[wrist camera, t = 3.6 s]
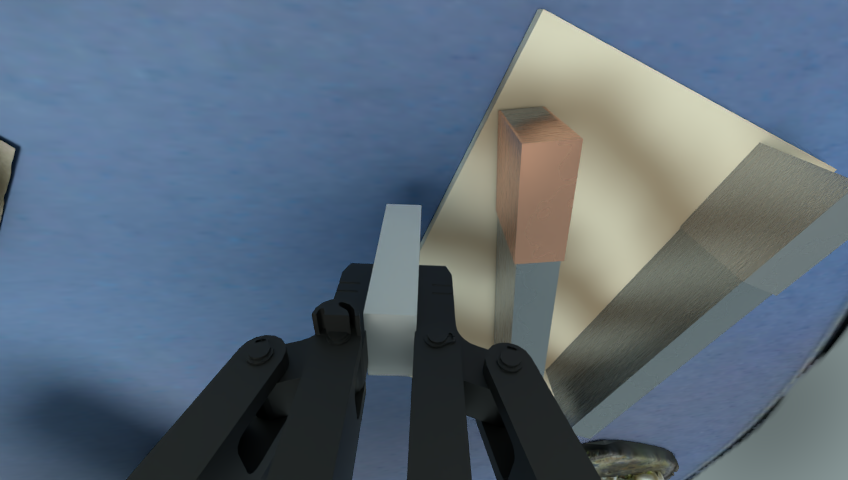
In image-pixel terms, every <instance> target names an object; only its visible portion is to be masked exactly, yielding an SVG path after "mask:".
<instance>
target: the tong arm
mask: <svg viewBox="0 0 848 480" xmlns="http://www.w3.org/2000/svg"><path fill="white" fill-rule="evenodd" d="M582 144H583V138H582V137H580V136H579V135H578V134H577V133H576V132H574V131H573V130H572V129H571V128H570V127H568V126H567V125H566V124H565V123H564V122H562V121H561V120H560V119H559V118H558V117H556V116H555V115H554V114H553V113H552V112H550V111H549V110H548V109H547V108H546V107H533V108H521V109H510V110H499V111H498V143H497V183H496V213H497V216H498V220H497V256H496V292H495V327H494V345H495V344H497V343H512V344H515V345H518V346H519V347H521V348H523V349H524V350H526V351H527V353H528V354H529V355H530V356H531V358H532V359H533V361H534V363H535V365H536V366H537V368H538V370H539V371H540V373H541V375H542V377H544V371H545V364H546V357H547V351H548V344H549V337H550V330H551V324H552V317H553V310H554V303H555V297H556V290H557V283H558V277H559V270H560V263H561V261H564V260H565V253H566V247H567V240H568V234H569V227H570V221H571V215H572V208H573V202H574V195H575V189H576V182H577V176H578V169H579V163H580V157H581V150H582Z"/></svg>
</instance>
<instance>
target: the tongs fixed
mask: <svg viewBox="0 0 848 480" xmlns="http://www.w3.org/2000/svg"><path fill="white" fill-rule="evenodd" d="M847 240H848V178H847V177H844V176H842V175H839V174H837V173H834V172H832V171H829V170H827V169H824V168H822V167H819V166H817V165H814V164H812V163H810V162H807V161H805V160H802V159H800V158H797V157H795V156H792V155H790V154H787V153H785V152H782V151H780V150H777V149H775V148H772V147H770V146H767V145H765V144H762V143H760V142H759V144H758V145H757V146H756V147H755V148H754V149H753V150H752V151H751V152H750V153H749V154H748V155H747V156H746V157H745V158H744V159H743V160H742V162H741V163H740V164H739V165H738V166H737V167H736V168H735V169H734V170H733V171H732V172H731V173H730V174H729V175H728V176H727V177H726V178H725V179H724V181H723V182H722V183H721V184H720V185H719V186H718V187H717V188H716V189H715V190H714V191H713V192H712V193H711V194H710V195H709V196H708V197H707V198H706V200H705V201H704V202H703V203H702V204H701V205H700V206H699V207H698V208H697V209H696V210H695V211H694V212H693V213H692V214H691V215H690V216H689V218H688V219H687V220H686V221H685V222H684V223H683V224H682V225H681V226H680V229H679V230H678V231H677V232H676V233H675V234H674V235H673V237H672V238H671V239H670V240H669V241H668V242H667V243H666V244H665V245H664V246H663V247H662V248H661V249H660V250H659V251H658V252H657V253H656V254H655V255H654V257H653V258H652V259H651V260H650V261H649V262H648V263H647V264H646V265H645V266H644V267H643V268H642V269H641V270H640V271H639V272H638V273H637V274H636V275H635V277H634V278H633V279H632V280H631V281H630V282H629V283H628V284H627V285H626V286H625V287H624V288H623V289H622V290H621V291H620V292H619V293H618V294H617V295H616V297H615V298H614V299H613V300H612V301H611V302H610V303H609V304H608V305H607V306H606V307H605V308H604V309H603V310H602V311H601V312H600V313H599V314H598V315H597V317H596V318H595V319H594V320H593V321H592V322H591V323H590V324H589V325H588V326H587V327H586V328H585V329H584V330H583V331H582V332H581V333H580V334H579V335H578V337H577V338H576V339H575V340H574V341H573V342H572V343H571V344H570V345H569V346H568V347H567V348H566V349H565V350H564V351H563V352H562V353H561V354H560V356H559V357H558V358H557V359H556V360H555V361H554V362H553V363H552V364H551V365H550V366H549V367H548V368H547V369H546V370H545V371H546V374H547V377H548V380H549V383H550V386H551V389H552V392H553V395H554V398H555V399H556V401H557V403H558V405H559V406H560V408H561V410H562V412H563V413H564V415H565V417H566V419H567V420H568V422H569V424H570V426H571V427H572V429H573V431H574V433H575V434H576V435H577V436H581V437H585V438H589V439H591V438H592V437H593V436H594V435H596V434H597V433H598V432H599V431H601V430H602V429H603V428H604V427H606V426H607V425H608V424H609V423H611V422H612V421H613V420H614V419H616V418H617V417H618V416H619V415H621V414H622V413H623V412H625V411H626V410H627V409H628V408H630V407H631V406H632V405H633V404H635V403H636V402H637V401H638V400H640V399H641V398H642V397H643V396H645V395H646V394H647V393H648V392H650V391H651V390H652V389H653V388H655V387H656V386H657V385H659V384H660V383H661V382H662V381H664V380H665V379H666V378H667V377H669V376H670V375H671V374H672V373H674V372H675V371H676V370H677V369H679V368H680V367H681V366H682V365H684V364H685V363H686V362H687V361H689V360H690V359H691V358H692V357H694V356H695V355H696V354H698V353H699V352H700V351H701V350H703V349H704V348H705V347H706V346H708V345H709V344H710V343H711V342H713V341H714V340H715V339H716V338H718V337H719V336H720V335H721V334H723V333H724V332H725V331H726V330H728V329H729V328H730V327H732V326H733V325H734V324H735V323H737V322H738V321H739V320H740V319H742V318H743V317H744V316H745V315H747V314H748V313H749V312H750V311H752V310H753V309H754V308H755V307H757V306H758V305H759V304H760V303H762V302H763V301H764V300H766V299H767V298H768V297H769V296H771V295H772V294H774V295H776V296H777V295H778V294H779V293H781V292H782V291H783V290H784V289H786V288H787V287H788V286H789V285H791V284H792V283H793V282H795V281H796V280H797V279H798V278H800V277H801V276H802V275H803V274H805V273H806V272H807V271H809V270H810V269H811V268H812V267H814V266H815V265H816V264H817V263H819V262H820V261H821V260H823V259H824V258H825V257H826V256H828V255H829V254H830V253H831V252H833V251H834V250H835V249H837V248H838V247H839V246H840V245H842V244H843V243H844V242H845V241H847Z"/></svg>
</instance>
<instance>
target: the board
mask: <svg viewBox="0 0 848 480" xmlns="http://www.w3.org/2000/svg"><path fill="white" fill-rule="evenodd" d="M533 107H546V108H547V109H548V110H549V111H550V112H552V113H553V114H554V115H555V116H556V117H558V118H559V119H560V120H561V121H562V122H564V123H565V124H566V125H567V126H568V127H570V128H571V129H572V130H573V131H574V132H576V133H577V134H578V135H579V136H580V137H582V138H583V144H582V150H581V157H580V163H579V169H578V176H577V182H576V189H575V195H574V202H573V208H572V215H571V221H570V227H569V234H568V240H567V247H566V253H565V260H564V261H561V263H560V270H559V277H558V283H557V290H556V297H555V303H554V310H553V317H552V324H551V330H550V337H549V344H548V351H547V357H546V364H545V370H546V369H547V368H548V367H549V366H550V365H551V364H552V363H553V362H554V361H555V360H556V359H557V358H558V357H559V356H560V354H561V353H562V352H563V351H564V350H565V349H566V348H567V347H568V346H569V345H570V344H571V343H572V342H573V341H574V340H575V339H576V338H577V337H578V335H579V334H580V333H581V332H582V331H583V330H584V329H585V328H586V327H587V326H588V325H589V324H590V323H591V322H592V321H593V320H594V319H595V318H596V317H597V315H598V314H599V313H600V312H601V311H602V310H603V309H604V308H605V307H606V306H607V305H608V304H609V303H610V302H611V301H612V300H613V299H614V298H615V297H616V295H617V294H618V293H619V292H620V291H621V290H622V289H623V288H624V287H625V286H626V285H627V284H628V283H629V282H630V281H631V280H632V279H633V278H634V277H635V275H636V274H637V273H638V272H639V271H640V270H641V269H642V268H643V267H644V266H645V265H646V264H647V263H648V262H649V261H650V260H651V259H652V258H653V257H654V255H655V254H656V253H657V252H658V251H659V250H660V249H661V248H662V247H663V246H664V245H665V244H666V243H667V242H668V241H669V240H670V239H671V238H672V237H673V235H674V234H675V233H676V232H677V231H678V230H679V229H680V226H681V225H682V224H683V223H684V222H685V221H686V220H687V219H688V218H689V216H690V215H691V214H692V213H693V212H694V211H695V210H696V209H697V208H698V207H699V206H700V205H701V204H702V203H703V202H704V201H705V200H706V198H707V197H708V196H709V195H710V194H711V193H712V192H713V191H714V190H715V189H716V188H717V187H718V186H719V185H720V184H721V183H722V182H723V181H724V179H725V178H726V177H727V176H728V175H729V174H730V173H731V172H732V171H733V170H734V169H735V168H736V167H737V166H738V165H739V164H740V163H741V162H742V160H743V159H744V158H745V157H746V156H747V155H748V154H749V153H750V152H751V151H752V150H753V149H754V148H755V147H756V146H757V145H758V144H759V142H760V143H762V144H765V145H767V146H770V147H772V148H775V149H777V150H780V151H782V152H785V153H787V154H790V155H792V156H795V157H797V158H800V159H802V160H805V161H807V162H810V163H812V164H814V165H817V166H819V167H822V168H824V169H827V170H829V171H832V172H835V171H836V170H837V169H835V168H833V167H831V166H829V165H827V164H826V163H824V162H822V161H820V160H818V159H817V158H815V157H813V156H811V155H809V154H807V153H806V152H804V151H802V150H800V149H798V148H796V147H795V146H793V145H791V144H789V143H787V142H785V141H784V140H782V139H780V138H778V137H776V136H774V135H773V134H771V133H769V132H767V131H765V130H764V129H762V128H760V127H758V126H756V125H754V124H753V123H751V122H749V121H747V120H745V119H743V118H742V117H740V116H738V115H736V114H734V113H732V112H731V111H729V110H727V109H725V108H723V107H721V106H720V105H718V104H716V103H714V102H712V101H711V100H709V99H707V98H705V97H703V96H701V95H700V94H698V93H696V92H694V91H692V90H690V89H689V88H687V87H685V86H683V85H681V84H679V83H678V82H676V81H674V80H672V79H670V78H669V77H667V76H665V75H663V74H661V73H659V72H658V71H656V70H654V69H652V68H650V67H648V66H647V65H645V64H643V63H641V62H639V61H637V60H636V59H634V58H632V57H630V56H628V55H626V54H625V53H623V52H621V51H619V50H617V49H616V48H614V47H612V46H610V45H608V44H606V43H605V42H603V41H601V40H599V39H597V38H595V37H594V36H592V35H590V34H588V33H586V32H584V31H583V30H581V29H579V28H577V27H575V26H574V25H572V24H570V23H568V22H566V21H564V20H563V19H561V18H559V17H557V16H555V15H553V14H552V13H550V12H548V11H546V10H544V9H538V10H537V12H536V14H535V16H534V18H533V20H532V22H531V24H530V26H529V28H528V30H527V32H526V34H525V36H524V38H523V40H522V42H521V44H520V46H519V48H518V50H517V52H516V54H515V56H514V58H513V60H512V62H511V64H510V66H509V68H508V70H507V72H506V74H505V76H504V78H503V80H502V82H501V84H500V86H499V88H498V90H497V92H496V94H495V96H494V98H493V100H492V102H491V104H490V106H489V108H488V110H487V112H486V114H485V116H484V118H483V120H482V122H481V124H480V125H479V127H478V129H477V131H476V133H475V135H474V137H473V139H472V141H471V143H470V145H469V147H468V149H467V151H466V153H465V155H464V157H463V159H462V161H461V163H460V165H459V167H458V169H457V171H456V173H455V175H454V177H453V179H452V181H451V183H450V185H449V187H448V189H447V191H446V193H445V195H444V197H443V199H442V201H441V203H440V205H439V207H438V209H437V211H436V213H435V215H434V217H433V219H432V221H431V223H430V225H429V227H428V229H427V231H426V233H425V235H424V237H423V239H422V241H421V243H420V258H419V265H435V266H446V267H447V269H448V270H449V271H450V273H451V274H452V283H453V295H454V307H455V320H456V327H457V330H458V332H459V334H460V335H461V336H462V337H463V338H464V339H465V340H466V341H468V342H469V343H471V344H474V345H476V346H479V347H482V348H485V349H489V348H490V347H491V346H492V345H494V327H495V292H496V256H497V220H498V216H497V213H496V183H497V143H498V111H499V110H510V109H521V108H533ZM410 377H412V376H410ZM543 378H544V380H545V382H546V384H547V385H548V387H549V389H550V391H551V392H552V389H551V386H550V383H549V380H548V377H547V374H546V371H544V377H543ZM552 394H553V392H552ZM553 396H554V395H553Z"/></svg>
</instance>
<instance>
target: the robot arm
mask: <svg viewBox="0 0 848 480" xmlns="http://www.w3.org/2000/svg"><path fill="white" fill-rule="evenodd" d="M420 230H421V205H403V204H387V205H386V210H385V214H384V219H383V224H382V228H381V233H380V238H379V242H378V247H377V252H376V256H375V261H374V264H356V263H351V264H350V265H349V266H348V267H347V268H346V269H345V270H344V271H343V272H342V275H341V279H340V282H339V285H338V288H337V292H336V294H335V297H334V299H332V300H329V301H326V302H323V303H322V304H320V305H319V306H318V307H316V308H315V310H314V311H313V313H312V319H313V324H314V329H315V335H314V336H312V337H310V338H308V339H304V340H301V341H297V342H293V343H288V344H285V343H284V342H283V340H282V339H280V338H278V337H276V336H271V335H264V336H260V337H256V338H254V339H252V340H250V341H248V342H246V343H245V344H244V345H243V346H242V347H240V348H239V349H238V351H237V352H236V353H235V354H234V355H233V356H232V358H231V359H230V360H229V361H228V362H227V363H226V365H225V366H224V367H223V368H222V369H221V370H220V371H219V373H218V374H217V375H216V376H215V377H214V378H213V380H212V381H211V382H210V383H209V384H208V385H207V387H206V388H205V389H204V390H203V391H202V392H201V393H200V395H199V396H198V397H197V398H196V399H195V400H194V402H193V403H192V404H191V405H190V406H189V407H188V409H187V410H186V411H185V412H184V413H183V414H182V416H181V417H180V418H179V419H178V420H177V421H176V422H175V424H174V425H173V426H172V427H171V428H170V429H169V431H168V432H167V433H166V434H165V435H164V436H163V438H162V439H161V440H160V441H159V442H158V443H157V444H156V446H155V447H154V448H153V449H152V450H151V451H150V453H149V454H148V455H147V456H146V457H145V458H144V460H143V461H142V462H141V463H140V464H139V465H138V467H137V468H136V469H135V470H134V471H133V472H132V473H131V475H130V476H129V477H128V478H127V479H126V480H352V475H353V469H354V463H355V457H356V451H357V444H358V438H359V432H360V426H361V420H362V413H363V407H364V401H365V395H366V383H365V379H366V373H367V368H368V375H386V376H412V392H411V412H410V432H409V452H408V472H407V480H472V478H471V466H470V454H469V443H468V431H467V419H466V415H467V416H470V417H473V418H475V420H476V423H477V426H478V428H479V431H480V434H481V437H482V440H483V442H484V445H485V448H486V451H487V454H488V456H489V459H490V462H491V465H492V468H493V470H494V473H495V476H496V479H497V480H601V478H600V476H599V474H598V473H597V471H596V469H595V467H594V466H593V464H592V462H591V460H590V459H589V457H588V455H587V453H586V452H585V450H584V448H583V446H582V445H581V443H580V441H579V439H578V438H577V436H576V434H575V433H574V431H573V429H572V427H571V426H570V424H569V422H568V420H567V419H566V417H565V415H564V413H563V412H562V410H561V408H560V406H559V405H558V403H557V401H556V399H555V398H554V396H553V394H552V392H551V391H550V389H549V387H548V385H547V384H546V382H545V380H544V378H543V377H542V375H541V373H540V371H539V370H538V368H537V366H536V365H535V363H534V361H533V359H532V358H531V356H530V355H529V354H528V353H527V351H526V350H524V349H523V348H521V347H519V346H518V345H515V344H512V343H497V344H495V345H492V346H491V347H490V348H489V349H485V348H482V347H479V346H476V345H474V344H471V343H469V342H468V341H466V340H465V339H464V338H463V337H462V336H461V335H460V334H459V332H458V330H457V327H456V320H455V307H454V295H453V283H452V274H451V273H450V271H449V270H448V269H447V267H446V266H435V265H419V258H420Z"/></svg>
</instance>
